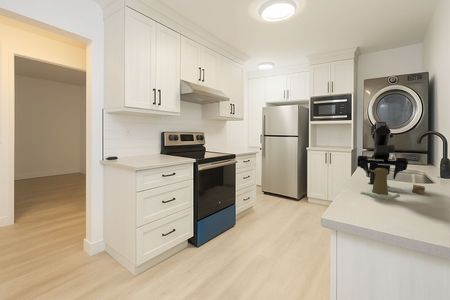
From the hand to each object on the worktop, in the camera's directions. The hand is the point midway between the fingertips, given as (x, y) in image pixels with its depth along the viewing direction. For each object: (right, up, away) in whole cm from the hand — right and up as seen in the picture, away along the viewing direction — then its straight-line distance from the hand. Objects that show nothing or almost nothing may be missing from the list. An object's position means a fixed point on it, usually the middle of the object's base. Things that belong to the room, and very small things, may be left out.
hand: (381, 177), depth 98 cm
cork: (+1, -7, +2) cm, 7 cm away
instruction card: (+17, -7, +10) cm, 21 cm away
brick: (+21, -8, +5) cm, 23 cm away
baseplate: (+1, -8, +2) cm, 8 cm away
